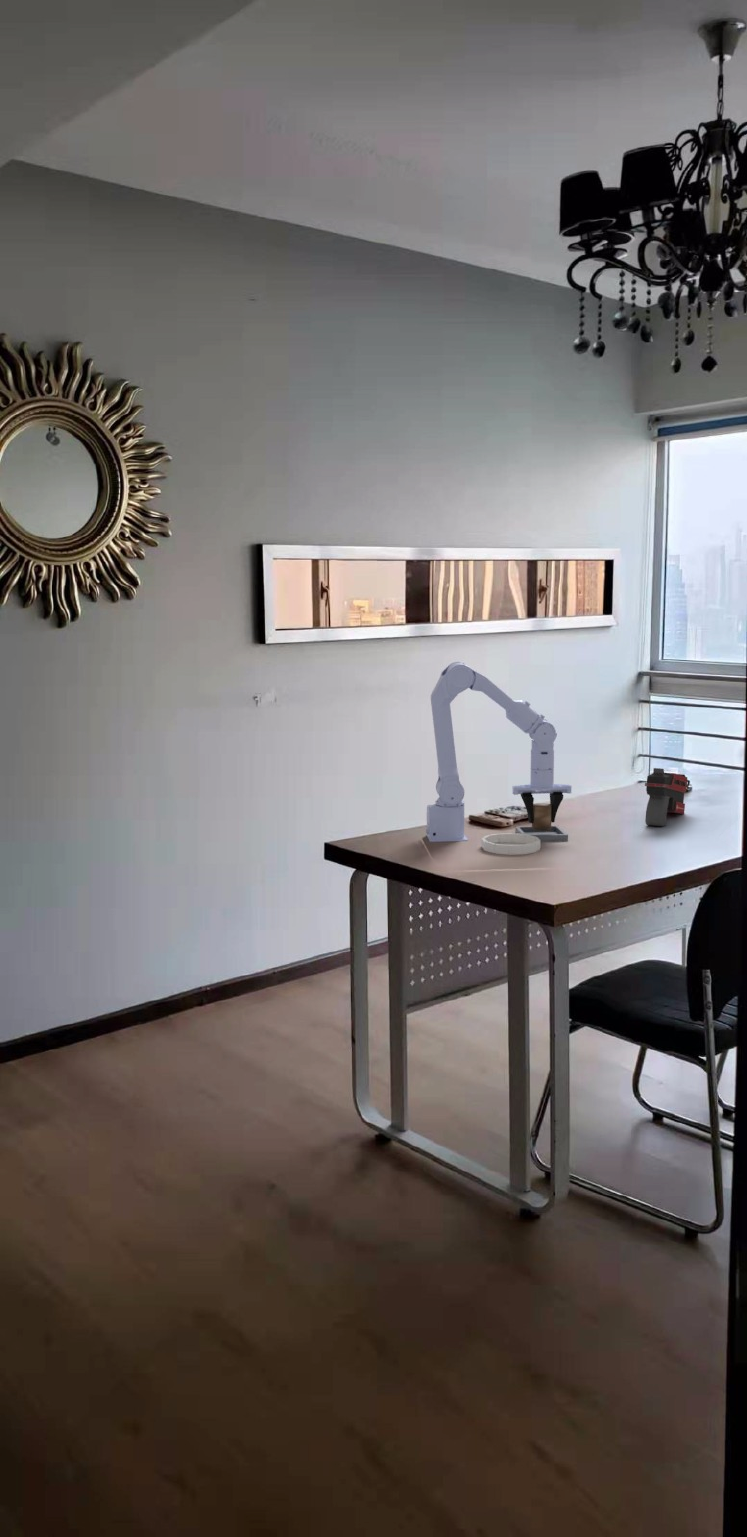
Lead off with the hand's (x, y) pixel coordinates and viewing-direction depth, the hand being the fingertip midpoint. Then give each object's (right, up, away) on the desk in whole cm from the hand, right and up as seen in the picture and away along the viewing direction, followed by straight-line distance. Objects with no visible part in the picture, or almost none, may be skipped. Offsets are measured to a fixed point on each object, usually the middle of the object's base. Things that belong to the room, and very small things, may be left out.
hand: (541, 821), depth 299 cm
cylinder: (0, -2, 0) cm, 2 cm away
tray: (0, -4, +1) cm, 4 cm away
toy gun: (+36, -1, +22) cm, 43 cm away
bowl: (-9, -6, -12) cm, 16 cm away
